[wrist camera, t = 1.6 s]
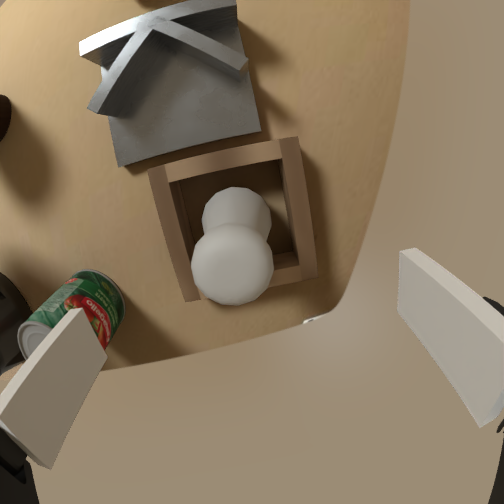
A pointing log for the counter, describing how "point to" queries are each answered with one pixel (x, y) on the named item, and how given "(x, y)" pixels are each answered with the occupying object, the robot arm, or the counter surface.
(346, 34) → the counter surface
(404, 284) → the robot arm
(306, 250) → the bore block
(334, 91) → the counter surface
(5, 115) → the coffee mug
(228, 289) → the salt shaker
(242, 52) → the v-block
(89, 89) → the counter surface
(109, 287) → the canned tomato
